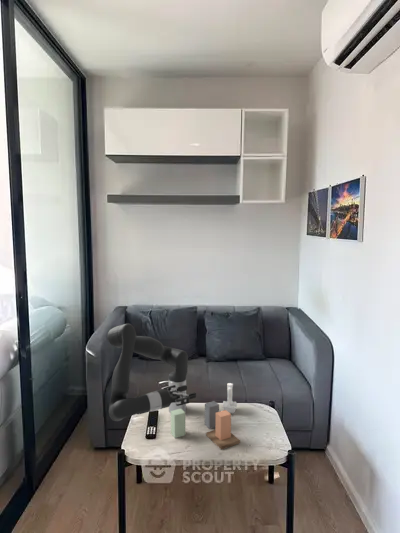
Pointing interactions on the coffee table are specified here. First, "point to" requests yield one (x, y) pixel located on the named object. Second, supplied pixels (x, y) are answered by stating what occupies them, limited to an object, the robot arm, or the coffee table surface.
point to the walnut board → (223, 443)
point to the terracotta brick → (223, 425)
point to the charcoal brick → (211, 414)
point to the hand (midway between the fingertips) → (191, 391)
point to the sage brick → (177, 423)
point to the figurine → (229, 400)
